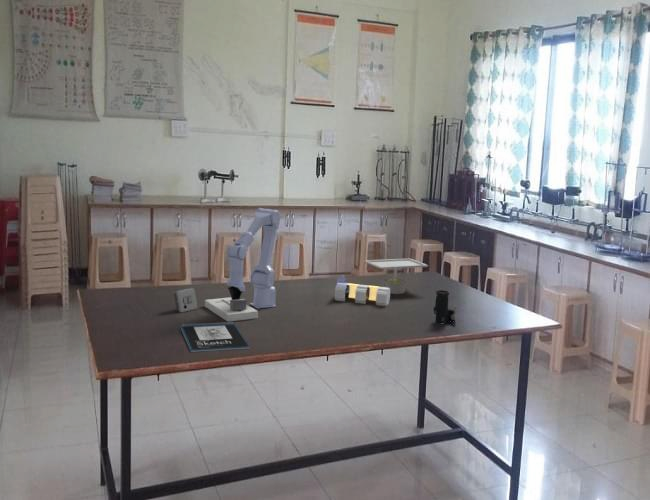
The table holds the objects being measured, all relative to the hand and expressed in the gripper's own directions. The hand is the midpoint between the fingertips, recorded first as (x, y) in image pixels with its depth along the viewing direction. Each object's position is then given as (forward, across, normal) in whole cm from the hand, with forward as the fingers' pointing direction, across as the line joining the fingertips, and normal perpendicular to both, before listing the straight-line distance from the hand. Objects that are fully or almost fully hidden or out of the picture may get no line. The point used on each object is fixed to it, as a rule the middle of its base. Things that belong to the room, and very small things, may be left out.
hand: (235, 303), depth 289 cm
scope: (+5, +43, +79) cm, 90 cm away
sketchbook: (+6, +25, -20) cm, 32 cm away
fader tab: (+2, +3, 0) cm, 3 cm away
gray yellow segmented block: (+6, 0, +66) cm, 66 cm away
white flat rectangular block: (+5, -4, 0) cm, 7 cm away
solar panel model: (+5, -10, +93) cm, 94 cm away
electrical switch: (+5, -15, -17) cm, 23 cm away
